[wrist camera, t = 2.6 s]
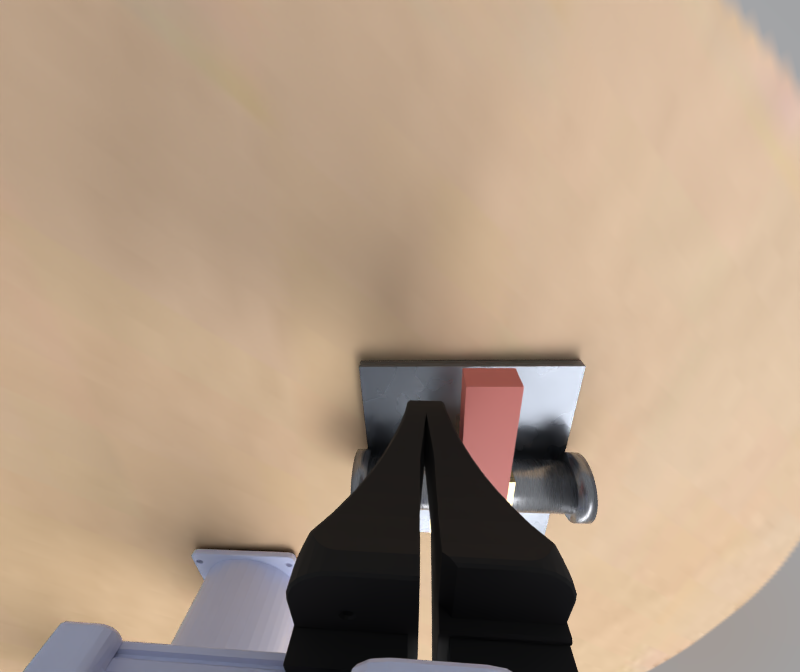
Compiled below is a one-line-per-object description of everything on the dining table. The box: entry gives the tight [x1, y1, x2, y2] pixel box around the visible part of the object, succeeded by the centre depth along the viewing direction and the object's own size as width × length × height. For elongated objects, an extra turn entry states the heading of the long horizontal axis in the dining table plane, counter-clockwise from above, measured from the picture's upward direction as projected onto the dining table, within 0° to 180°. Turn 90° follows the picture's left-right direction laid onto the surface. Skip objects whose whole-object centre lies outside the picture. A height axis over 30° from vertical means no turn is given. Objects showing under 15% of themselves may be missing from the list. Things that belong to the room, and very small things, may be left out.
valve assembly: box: [351, 360, 598, 535], centre depth 18 cm, size 12×13×4 cm
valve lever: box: [459, 368, 524, 500], centre depth 14 cm, size 10×3×1 cm, turn 2°
